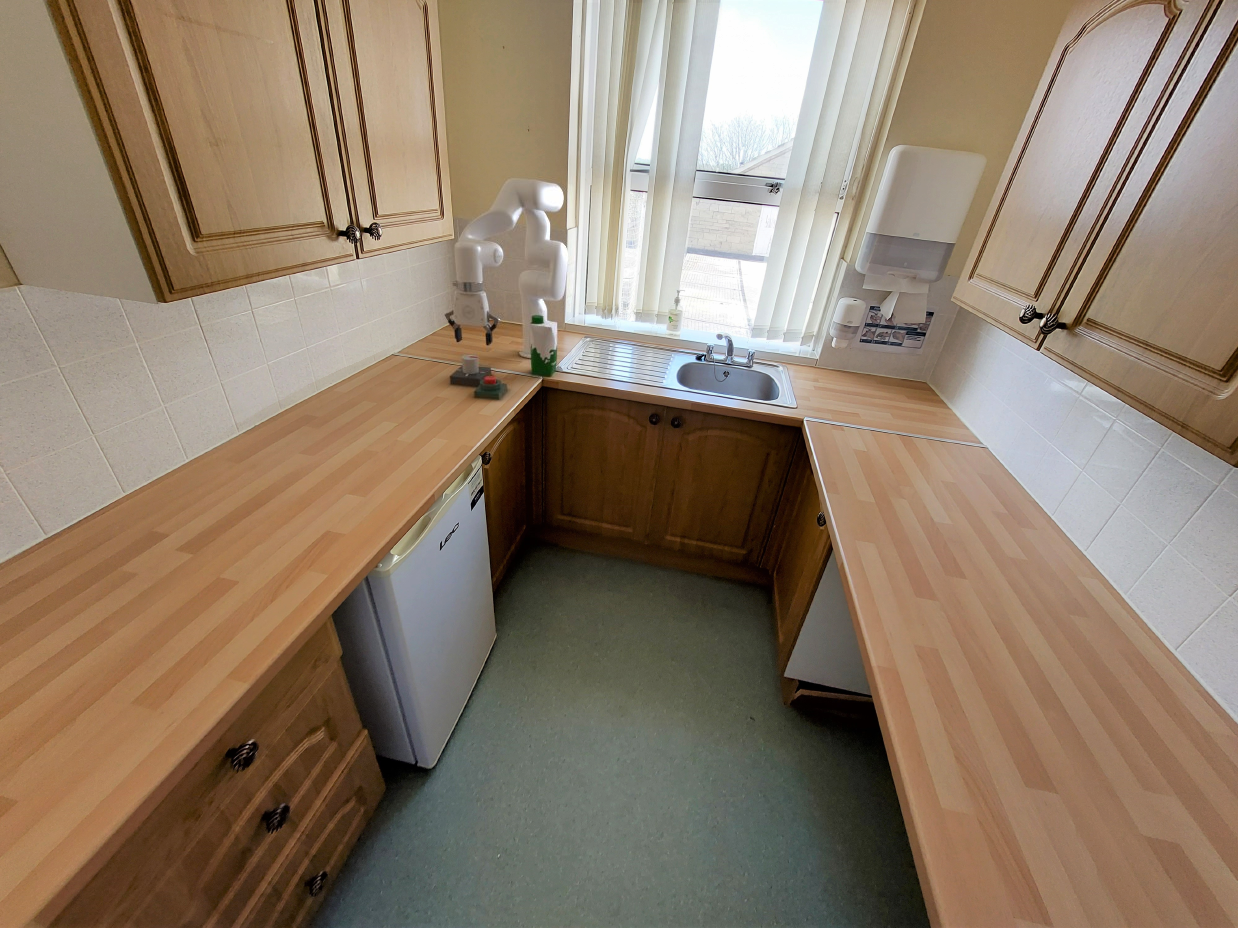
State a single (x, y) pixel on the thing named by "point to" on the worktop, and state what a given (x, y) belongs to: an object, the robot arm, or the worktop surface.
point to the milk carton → (543, 346)
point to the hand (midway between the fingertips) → (474, 343)
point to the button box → (490, 390)
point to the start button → (490, 380)
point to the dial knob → (470, 364)
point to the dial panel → (469, 377)
